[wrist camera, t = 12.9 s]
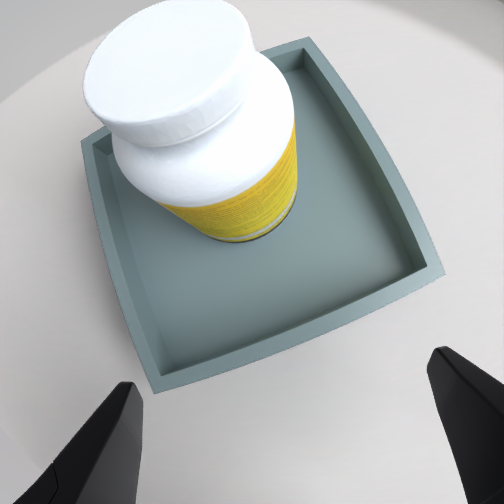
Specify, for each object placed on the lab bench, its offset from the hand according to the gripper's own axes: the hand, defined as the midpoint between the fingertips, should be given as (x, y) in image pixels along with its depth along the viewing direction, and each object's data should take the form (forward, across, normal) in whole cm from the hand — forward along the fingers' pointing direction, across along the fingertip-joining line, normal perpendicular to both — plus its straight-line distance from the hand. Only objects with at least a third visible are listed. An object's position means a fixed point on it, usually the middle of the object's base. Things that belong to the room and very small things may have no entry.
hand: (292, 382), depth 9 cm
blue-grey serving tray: (+14, 0, +1) cm, 14 cm away
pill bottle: (+12, +1, -2) cm, 12 cm away
